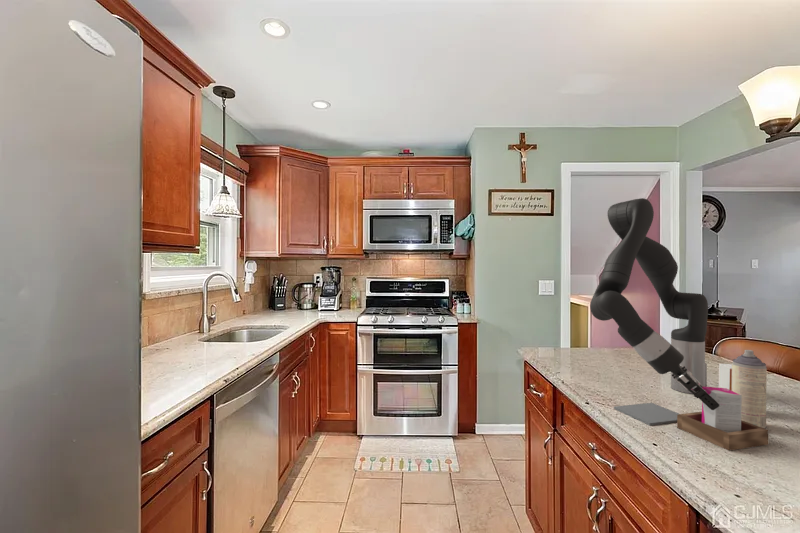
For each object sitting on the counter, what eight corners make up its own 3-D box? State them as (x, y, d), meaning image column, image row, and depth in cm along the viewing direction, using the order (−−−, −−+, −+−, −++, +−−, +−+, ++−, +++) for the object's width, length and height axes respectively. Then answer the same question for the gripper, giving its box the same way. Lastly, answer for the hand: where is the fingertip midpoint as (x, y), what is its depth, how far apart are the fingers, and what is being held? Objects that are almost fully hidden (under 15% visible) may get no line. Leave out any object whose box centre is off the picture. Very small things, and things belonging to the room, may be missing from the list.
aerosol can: (763, 424, 101) (763, 349, 100) (768, 433, 95) (769, 354, 95) (729, 417, 105) (730, 346, 104) (733, 426, 99) (733, 351, 99)
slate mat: (651, 404, 114) (651, 402, 114) (690, 420, 103) (690, 418, 103) (613, 408, 111) (613, 406, 111) (649, 425, 99) (649, 423, 99)
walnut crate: (713, 423, 101) (713, 410, 101) (768, 444, 89) (768, 429, 89) (677, 427, 98) (677, 414, 98) (729, 450, 86) (729, 435, 86)
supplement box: (742, 442, 90) (742, 395, 90) (714, 440, 91) (714, 393, 91) (726, 431, 96) (726, 387, 96) (700, 429, 97) (700, 385, 97)
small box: (729, 413, 108) (729, 368, 108) (717, 405, 114) (718, 362, 114) (763, 416, 105) (764, 370, 105) (750, 408, 112) (750, 365, 111)
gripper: (674, 348, 92) (734, 402, 87) (665, 338, 105) (717, 385, 99) (648, 366, 95) (705, 420, 89) (642, 354, 107) (692, 401, 102)
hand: (711, 402), depth 94 cm, fingers open, 8 cm apart
